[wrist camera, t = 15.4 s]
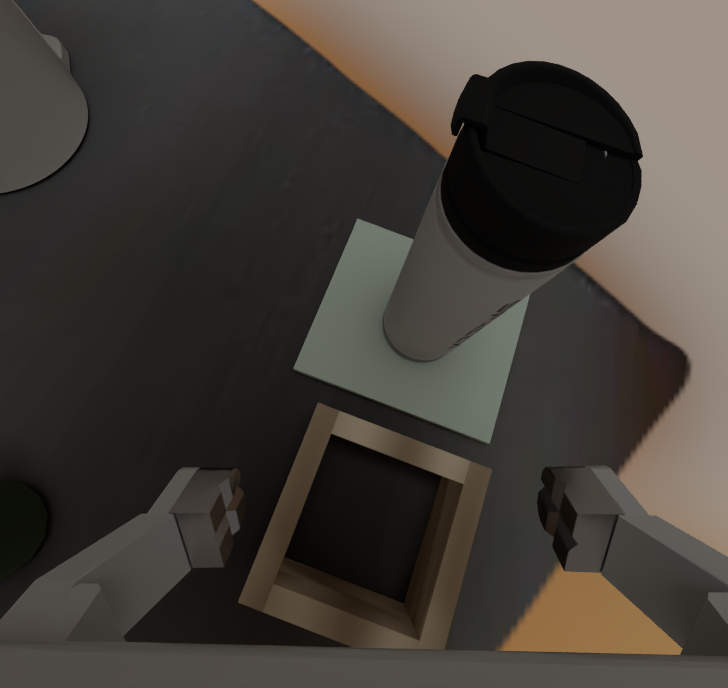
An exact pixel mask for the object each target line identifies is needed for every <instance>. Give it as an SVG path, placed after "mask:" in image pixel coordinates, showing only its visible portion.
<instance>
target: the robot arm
mask: <svg viewBox="0 0 728 688" xmlns="http://www.w3.org/2000/svg"><path fill="white" fill-rule="evenodd" d="M87 122H88V107H87V103H86V99H85V96H84V94H83V92H82V90H81V88H80V87H79V85H78V84H77V83H76V81H75V80H74V78H73V76H72V74H71V72H70V59H69V54H68V51H67V50H66V48H65V47H64V46H63V45H62V44H61V42H60V41H59V40H58V39H57V38H55V37H53V36H49V35H44V34H41V33H40V32H39V31H38V30H37V28H36V27H35V26H34V25H33V23H32V22H31V21H30V20H29V19H28V17H27V16H26V15H25V14H24V12H23V11H22V10H21V9H20V8H19V6H18V5H17V4H16V3H15V2H14V0H0V193H4V192H9V191H13V190H17V189H20V188H24V187H26V186H29V185H31V184H34V183H36V182H38V181H40V180H42V179H44V178H45V177H47V176H49V175H50V174H52V173H53V172H55V171H56V170H57V169H58V168H60V167H61V166H62V165H63V164H64V163H65V162H66V161H67V160H68V159H69V158H70V157H71V156H72V155H73V153H74V152H75V151H76V149H77V148H78V146H79V145H80V143H81V141H82V139H83V137H84V134H85V131H86V127H87ZM541 480H542V482H543V484H544V486H545V487H544V488H543V489H541V490H540V491H539V493H538V500H537V505H538V514H539V517H540V521H541V523H542V526H543V528H544V530H545V531H546V532H547V533H549V534H550V535H551V536H552V537H554V540H553V545H552V547H553V549H554V551H555V553H556V555H557V557H558V559H559V561H560V563H561V565H562V568H563V570H564V571H574V572H598V573H602V575H603V576H604V577H605V578H606V579H607V580H608V581H609V582H610V583H611V584H612V585H613V586H615V587H616V588H617V589H618V590H619V591H620V592H621V593H622V594H623V595H624V596H626V597H627V598H628V599H629V600H630V601H631V602H632V603H633V604H634V605H636V606H637V607H638V608H639V609H640V610H641V611H642V612H643V613H644V614H645V615H646V616H648V617H649V618H650V619H651V620H652V621H653V622H654V623H655V624H656V625H658V626H659V627H660V628H661V629H662V630H663V631H664V632H665V633H666V634H668V636H670V637H671V638H672V639H673V640H674V641H675V642H676V643H677V644H678V645H680V646H681V647H682V648H683V649H682V652H681V654H680V655H655V654H612V653H611V654H610V653H571V652H569V653H568V652H525V651H524V652H522V651H480V650H434V649H394V648H353V647H313V646H272V645H230V644H187V643H145V642H126V640H125V638H124V635H125V634H126V633H127V632H128V631H129V630H130V629H131V628H132V627H133V626H134V625H135V624H136V623H137V622H138V621H139V620H140V619H141V618H142V617H143V616H144V615H145V614H146V613H147V612H148V611H149V610H150V609H151V608H152V607H153V606H154V605H155V604H156V603H157V602H159V601H160V600H161V599H162V598H163V597H164V596H165V595H166V594H167V593H168V592H169V591H170V590H171V589H172V588H173V587H174V586H175V585H176V584H177V583H178V582H179V581H180V580H181V579H182V578H183V577H184V576H185V575H186V574H187V573H188V572H189V571H190V570H191V568H205V567H224V566H225V564H226V561H227V559H228V557H229V554H230V552H231V549H232V547H233V545H234V542H233V538H232V535H233V534H234V533H236V532H237V531H238V530H239V529H240V528H241V525H242V523H243V520H244V515H245V510H246V499H245V494H244V492H243V491H242V490H241V489H240V488H239V487H238V486H239V484H240V481H241V476H240V472H239V470H238V469H236V468H214V467H201V468H196V467H183V468H181V469H179V470H178V471H177V473H176V474H175V475H174V477H173V478H172V480H171V481H170V482H169V484H168V485H167V486H166V488H165V489H164V491H163V492H162V493H161V495H160V496H159V497H158V499H157V500H156V502H155V503H154V504H153V506H152V507H151V509H150V510H149V511H148V513H147V514H140V515H138V516H137V517H135V518H134V519H132V520H130V521H129V522H127V523H126V524H124V525H122V526H121V527H119V528H118V529H116V530H115V531H113V532H111V533H110V534H108V535H107V536H105V537H103V538H102V539H100V540H99V541H97V542H95V543H94V544H92V545H91V546H89V547H87V548H86V549H84V550H83V551H81V552H79V553H78V554H76V555H75V556H73V557H72V558H70V559H68V560H67V561H65V562H64V563H62V564H60V565H59V566H57V567H56V568H54V569H52V570H51V571H49V572H48V573H46V574H44V575H43V576H41V577H40V578H38V579H37V580H35V581H34V582H33V583H32V584H31V586H30V587H29V588H28V589H27V590H26V591H25V592H24V593H23V595H22V596H21V597H20V598H19V599H18V600H17V601H16V603H15V604H14V605H13V606H12V607H11V608H10V609H9V610H8V612H7V613H6V614H5V615H4V616H3V617H2V618H1V619H0V688H728V557H727V556H725V555H723V554H722V553H720V552H718V551H716V550H715V549H713V548H711V547H709V546H708V545H706V544H704V543H703V542H701V541H699V540H697V539H696V538H694V537H692V536H690V535H689V534H687V533H685V532H683V531H682V530H680V529H678V528H676V527H675V526H673V525H671V524H669V523H668V522H666V521H664V520H663V519H661V518H659V517H657V516H649V515H648V514H647V512H646V511H645V510H644V509H643V507H642V506H641V505H640V504H639V502H638V501H637V500H636V499H635V498H634V496H633V495H632V494H631V493H630V491H629V490H628V489H627V488H626V487H625V485H624V484H623V483H622V482H621V481H620V479H619V478H618V477H617V476H616V474H615V473H614V472H613V471H612V470H611V469H610V468H609V467H607V466H585V467H583V466H579V467H545V468H544V470H543V471H542V476H541Z"/></svg>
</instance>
